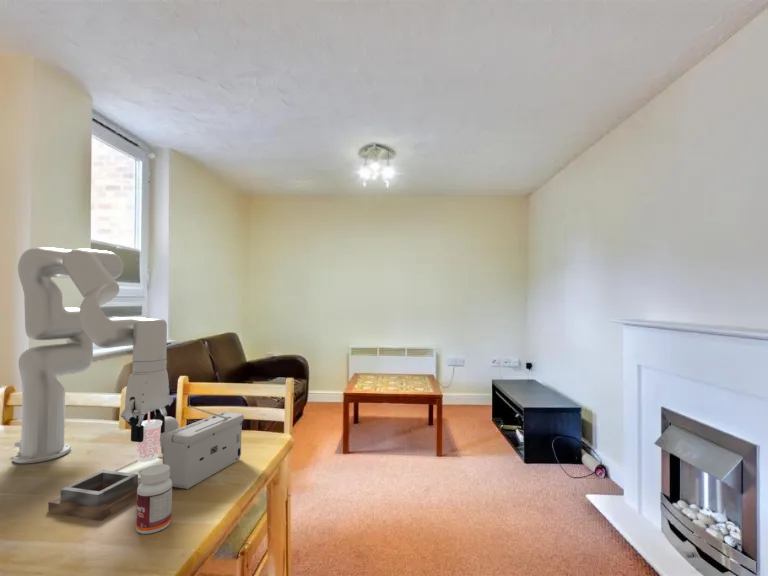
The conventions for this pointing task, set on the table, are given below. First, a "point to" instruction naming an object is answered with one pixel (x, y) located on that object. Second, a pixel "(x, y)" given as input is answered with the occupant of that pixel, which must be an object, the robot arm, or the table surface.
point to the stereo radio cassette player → (202, 448)
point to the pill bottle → (154, 499)
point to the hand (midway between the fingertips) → (148, 436)
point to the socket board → (101, 492)
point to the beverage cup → (149, 440)
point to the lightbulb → (168, 428)
